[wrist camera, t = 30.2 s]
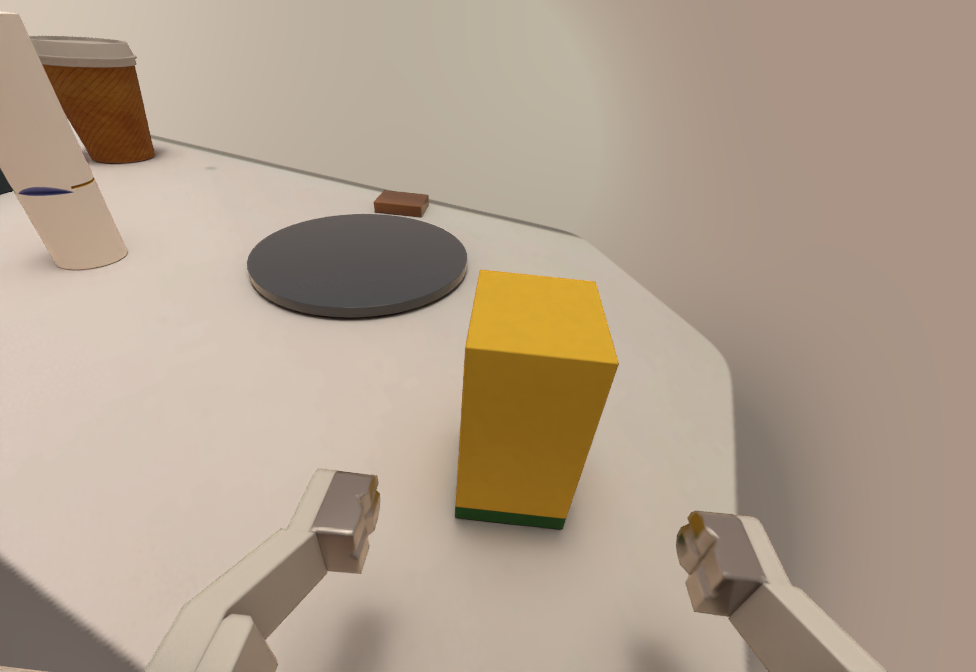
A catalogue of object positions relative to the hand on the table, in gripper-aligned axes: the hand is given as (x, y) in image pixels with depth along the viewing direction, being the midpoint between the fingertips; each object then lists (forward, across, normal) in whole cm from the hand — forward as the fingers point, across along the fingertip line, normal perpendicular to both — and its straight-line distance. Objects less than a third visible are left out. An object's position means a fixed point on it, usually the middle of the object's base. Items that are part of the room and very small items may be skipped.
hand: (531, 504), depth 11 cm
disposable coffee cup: (+46, +50, +7) cm, 68 cm away
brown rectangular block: (+38, +13, +7) cm, 41 cm away
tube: (+21, +33, +7) cm, 39 cm away
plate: (+25, +13, +7) cm, 29 cm away
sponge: (+6, 0, +7) cm, 9 cm away
